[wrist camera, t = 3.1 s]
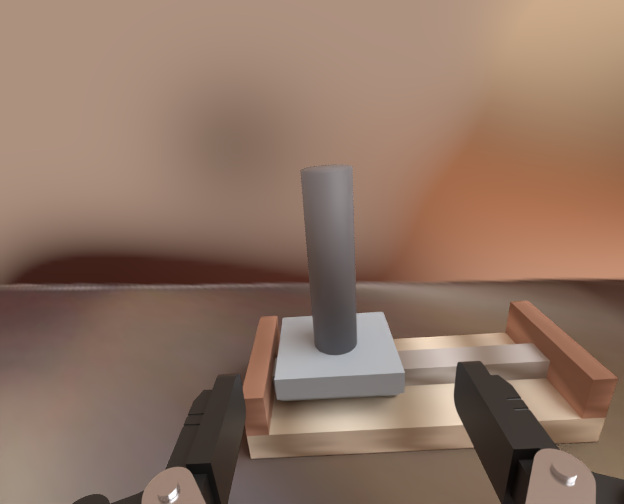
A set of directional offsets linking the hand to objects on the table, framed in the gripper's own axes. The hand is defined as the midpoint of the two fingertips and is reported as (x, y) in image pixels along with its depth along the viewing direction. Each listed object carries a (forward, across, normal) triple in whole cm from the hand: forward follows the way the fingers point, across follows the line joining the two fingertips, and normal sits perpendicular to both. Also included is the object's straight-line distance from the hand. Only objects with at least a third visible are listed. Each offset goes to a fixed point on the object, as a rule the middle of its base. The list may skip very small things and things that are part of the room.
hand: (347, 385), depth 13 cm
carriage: (+10, 0, +9) cm, 13 cm away
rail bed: (+10, -5, +11) cm, 16 cm away
